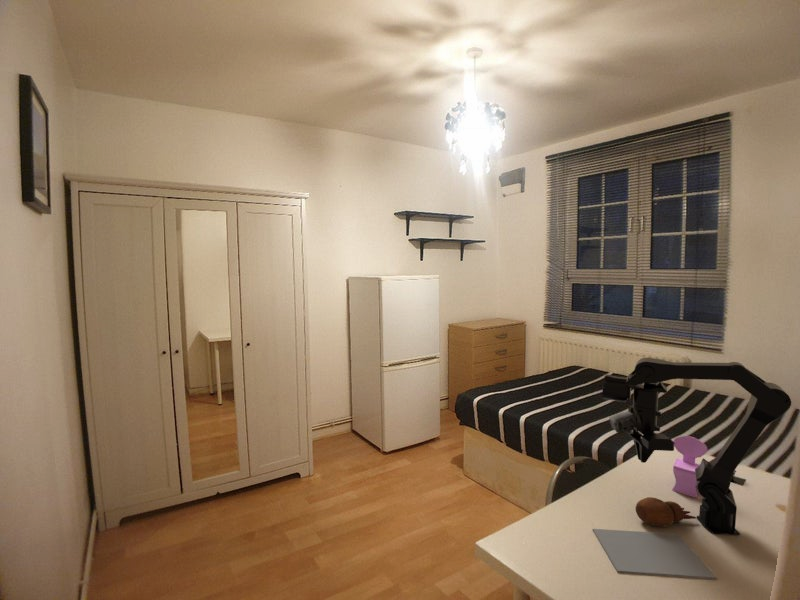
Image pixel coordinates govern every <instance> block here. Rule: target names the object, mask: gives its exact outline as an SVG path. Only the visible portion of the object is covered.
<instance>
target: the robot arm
mask: <svg viewBox="0 0 800 600" xmlns="http://www.w3.org/2000/svg"><path fill="white" fill-rule="evenodd" d="M670 380H671V381H672V380H707V381H708V380H709V381H711V380H712V381H713V380H714V381H715V380H716V381H719V380H720V381H734V382H735V383H737V384H738V385H739V387H742V388H743V389H744V390H745V391H747V393H749V394H750V395H751V396H750V397H749V400H748V404H747V408H746V411H745V414H744V415H743V417H742V419H740V422H739V423H738V424H737V425H736V427H735V429H734V430H733V432H732V433H731V434H730V436H729V437H728V438H727V440H726V441H725V443H724V445H723V446H722V447H721V449H720V450H719V452H718V453H717V455H716V456H715V457H714V458H713V459H711V460H710V461H708V460H707V459H706V458H702V459H701V462H700V463H699V464H700V466H699V467H698V468H696V469H695V474H696V482H697V486H696V488H697V491H698V493H699V495H700V496H701V497H703V498H702V499H701V504H700V505H699V513H698V515H696V519H697V521H699V522H700V524H702V525H703V526H704V527H705V528H706V529H707V530H708V531H709V532H710V533H712V534H716V535H731V536H732V535H733V536H740V531H738V530H737V528H736V523H737V522H736V521H737V511H738V509H737V508H738V507H737V503H736V500H735V497H734V494H733V491H732V489H730V486H731V483H732V482H731V479H732V475H733V472H734V470H735V471H736V469H737V468H738V466H739V465H740V463H741V462H742V460H743V459H744V458H745V456H747V453H748V452H749V451H750V449H751V448H752V446H753V445H754V444H755V443H756V441H757V439H758V438H759V436H760V435H761V433H763V431H764V430H765V428H766V427H767V426H769V425H771V424H772V423H773V422H775V421H777V420H779V419H780V418H781V417H782V416H783V415H784V414H785V413H786V412H787V411H789V409H791V406H792V399H791V398H790V395H789V394H788V392H786V391H785V390H784V389H783V388H782V387H781V386H779V385H778V384H776V383H774V382H767V381H765V380H764V379H762V378H761V377H759V376H758V375H757V374H755V373H754V372H753V371H751V370H749V369H748V368H747V367H745V366H744V365H743V364H742V363H740V362H738V361H731V362H680V361H679V362H674V361H669V360H666V359H662V358H653V357H642V358H640V359H639V360H637V362H636V364H635V366H634V369H633V371H631V372H630V373H629V374H628V375H627V377H623V376H618V375H617V376H615V375H612V374H608V373H607V374H605V375H604V382H603V386H602V391H601V393H602V394H601V395H602V400H609V401H614V402H615V401H616V402H620V403H626V402H627V401H628V400H631V397H633V398H632V405H629V406H628V411H624V412H619V413H616V414H613V415H610V416H609V417H608V419H609V422H610V425H611V428H612V430H614V431H615V432H616V433H617V434H623V433H627V434H628V435H629V436H630V437H631V438H632V441H633V444H634V448H635V452H636V456H637V459H638V460H639V461H640V462H641V463H645V464H646V462H647V461H648V460H649V459H650V458H651V456H652V455H653V453H654V452H655V451H663V452H664V451H665V452H674V451H675V446H674V444H675V443H674V442H673V441H674V440H673V439H671V438H670V437H669V436H667V435H666V434H665V433H657V432H660V431H661V427H660V426H659V425H657V423H658V417H661V416H662V412H661V411H659V410H658V407H659V404H658V403H659V393H662V394H666V393H667V392H668V388H667V386H665V385H664V383H663V382H667V381H670ZM632 389H633V393H632ZM632 394H633V396H632Z"/></svg>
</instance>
